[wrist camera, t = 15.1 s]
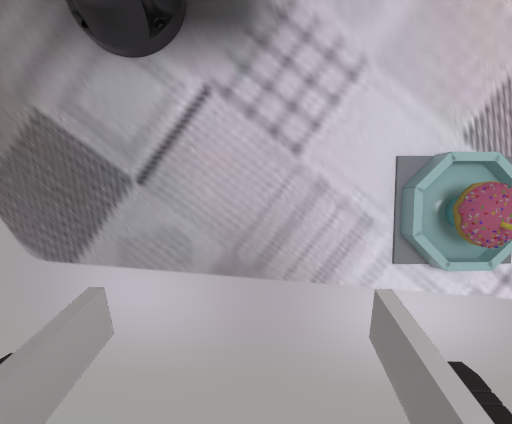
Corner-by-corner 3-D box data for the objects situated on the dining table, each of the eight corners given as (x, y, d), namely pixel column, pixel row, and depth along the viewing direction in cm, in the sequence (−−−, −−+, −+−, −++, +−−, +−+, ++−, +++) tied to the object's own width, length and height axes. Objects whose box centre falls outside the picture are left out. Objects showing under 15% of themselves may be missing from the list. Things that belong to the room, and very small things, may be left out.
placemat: (396, 156, 39) (398, 156, 39) (515, 157, 40) (517, 156, 40) (392, 263, 41) (393, 263, 40) (508, 262, 41) (510, 263, 41)
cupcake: (480, 246, 39) (582, 269, 27) (425, 234, 39) (504, 252, 27) (495, 188, 39) (606, 186, 27) (440, 176, 38) (527, 168, 26)
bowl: (403, 154, 39) (416, 151, 36) (512, 155, 40) (534, 152, 36) (399, 265, 40) (411, 270, 37) (505, 264, 41) (525, 270, 38)
